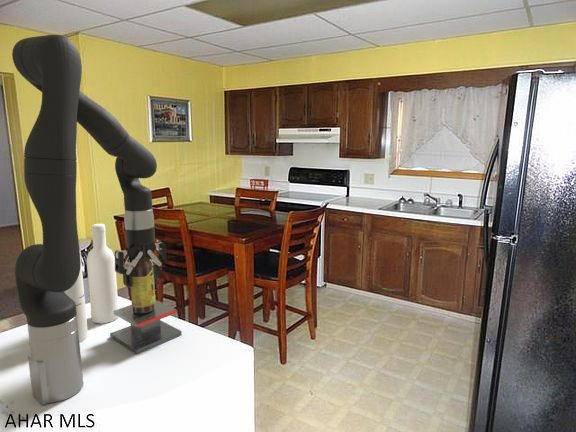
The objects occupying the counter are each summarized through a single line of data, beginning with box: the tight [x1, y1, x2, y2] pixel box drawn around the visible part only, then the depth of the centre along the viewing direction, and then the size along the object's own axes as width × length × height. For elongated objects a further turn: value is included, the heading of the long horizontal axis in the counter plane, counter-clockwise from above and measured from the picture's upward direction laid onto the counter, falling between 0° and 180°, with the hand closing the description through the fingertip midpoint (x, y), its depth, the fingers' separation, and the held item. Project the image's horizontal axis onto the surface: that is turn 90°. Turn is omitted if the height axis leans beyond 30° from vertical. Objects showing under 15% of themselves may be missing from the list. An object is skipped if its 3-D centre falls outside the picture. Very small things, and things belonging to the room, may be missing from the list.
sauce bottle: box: [129, 245, 156, 314], centre depth 110 cm, size 6×6×20 cm
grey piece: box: [109, 299, 183, 355], centre depth 113 cm, size 14×14×8 cm
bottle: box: [86, 223, 120, 324], centre depth 122 cm, size 8×8×30 cm
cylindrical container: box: [64, 251, 89, 343], centre depth 109 cm, size 7×7×25 cm
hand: (143, 282), depth 110 cm, fingers open, 8 cm apart
